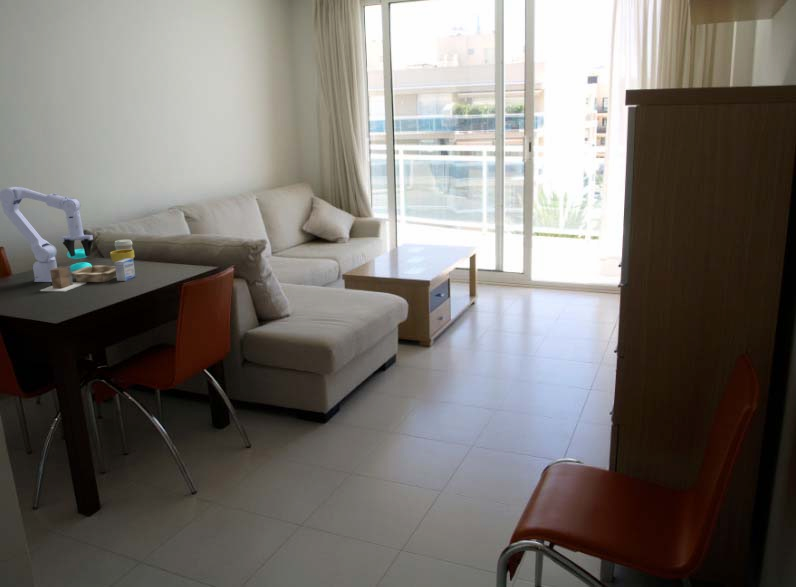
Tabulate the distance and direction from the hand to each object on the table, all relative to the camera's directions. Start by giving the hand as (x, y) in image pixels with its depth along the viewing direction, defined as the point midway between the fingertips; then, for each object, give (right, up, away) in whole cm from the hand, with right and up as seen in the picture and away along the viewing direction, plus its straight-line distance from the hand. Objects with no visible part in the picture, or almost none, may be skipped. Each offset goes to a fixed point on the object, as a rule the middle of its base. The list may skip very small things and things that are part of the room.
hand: (80, 255), depth 307 cm
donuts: (-9, -6, +19) cm, 22 cm away
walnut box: (-1, -14, -13) cm, 19 cm away
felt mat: (-1, -14, -13) cm, 19 cm away
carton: (+8, -10, +1) cm, 13 cm away
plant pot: (+15, -7, +13) cm, 21 cm away
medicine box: (+22, -11, -2) cm, 24 cm away
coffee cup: (+9, -3, +29) cm, 31 cm away
